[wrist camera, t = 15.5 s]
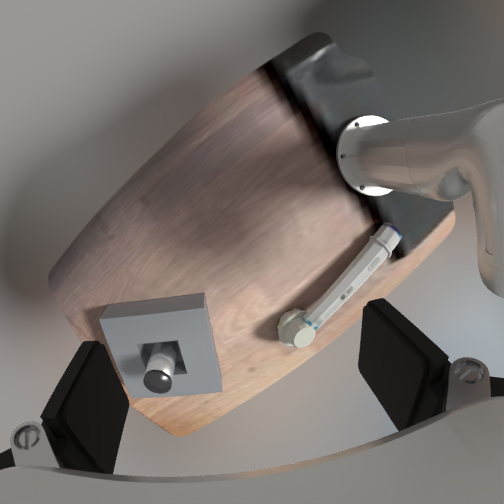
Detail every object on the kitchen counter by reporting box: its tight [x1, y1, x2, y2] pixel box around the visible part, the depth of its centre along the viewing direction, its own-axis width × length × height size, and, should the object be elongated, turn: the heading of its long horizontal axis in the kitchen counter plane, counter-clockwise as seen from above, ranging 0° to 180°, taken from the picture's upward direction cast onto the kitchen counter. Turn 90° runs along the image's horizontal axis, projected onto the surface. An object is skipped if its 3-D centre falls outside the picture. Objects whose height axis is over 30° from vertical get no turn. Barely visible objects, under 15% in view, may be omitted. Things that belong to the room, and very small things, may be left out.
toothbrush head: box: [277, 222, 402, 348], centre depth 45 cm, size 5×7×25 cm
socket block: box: [99, 293, 223, 398], centre depth 44 cm, size 16×16×5 cm
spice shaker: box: [143, 341, 178, 394], centre depth 41 cm, size 4×4×9 cm
